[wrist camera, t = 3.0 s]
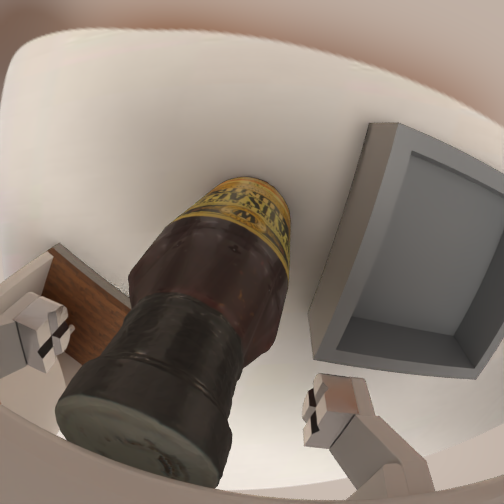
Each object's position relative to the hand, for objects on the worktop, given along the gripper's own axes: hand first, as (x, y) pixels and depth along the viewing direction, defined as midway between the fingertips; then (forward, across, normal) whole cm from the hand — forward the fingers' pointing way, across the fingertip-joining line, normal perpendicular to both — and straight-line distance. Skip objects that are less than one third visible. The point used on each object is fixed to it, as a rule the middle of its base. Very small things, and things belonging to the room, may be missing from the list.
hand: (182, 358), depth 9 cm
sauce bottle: (+16, 0, 0) cm, 16 cm away
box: (+16, -16, -1) cm, 22 cm away
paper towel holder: (+16, +14, +14) cm, 25 cm away
